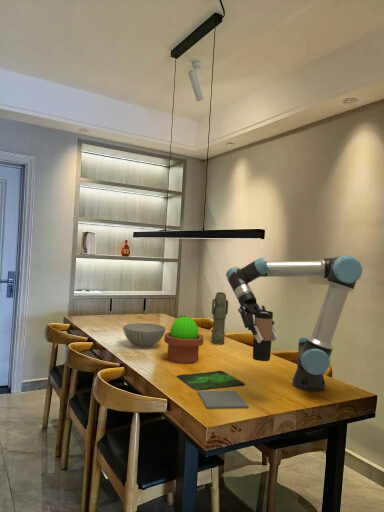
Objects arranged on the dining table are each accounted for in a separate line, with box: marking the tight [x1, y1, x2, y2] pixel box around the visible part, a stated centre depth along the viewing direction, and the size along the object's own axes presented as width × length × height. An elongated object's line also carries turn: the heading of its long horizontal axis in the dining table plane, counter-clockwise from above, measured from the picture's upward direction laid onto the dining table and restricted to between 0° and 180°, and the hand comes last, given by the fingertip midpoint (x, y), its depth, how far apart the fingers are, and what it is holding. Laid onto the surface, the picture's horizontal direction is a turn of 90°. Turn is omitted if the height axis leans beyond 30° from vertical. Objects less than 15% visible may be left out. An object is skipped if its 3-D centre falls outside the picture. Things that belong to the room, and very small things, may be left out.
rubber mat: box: [197, 390, 250, 410], centre depth 160 cm, size 17×17×1 cm
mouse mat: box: [176, 370, 245, 392], centre depth 184 cm, size 27×22×1 cm
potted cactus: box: [163, 315, 204, 364], centre depth 218 cm, size 22×22×25 cm
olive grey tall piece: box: [211, 291, 229, 346], centre depth 266 cm, size 9×12×35 cm
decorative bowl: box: [122, 322, 167, 349], centre depth 244 cm, size 27×27×12 cm
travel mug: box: [252, 310, 274, 362], centre depth 163 cm, size 8×8×20 cm
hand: (268, 340), depth 160 cm, fingers closed on travel mug, 7 cm apart
